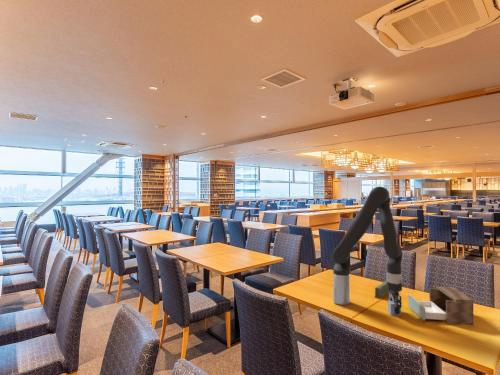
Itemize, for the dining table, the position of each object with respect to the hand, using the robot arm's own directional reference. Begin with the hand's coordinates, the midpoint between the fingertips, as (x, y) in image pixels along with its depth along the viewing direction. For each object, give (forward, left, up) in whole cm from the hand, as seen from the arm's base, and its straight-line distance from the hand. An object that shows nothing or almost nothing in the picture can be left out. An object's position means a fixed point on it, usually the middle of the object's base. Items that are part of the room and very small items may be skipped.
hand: (394, 310), depth 158 cm
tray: (+16, 0, 0) cm, 16 cm away
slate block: (0, 0, -2) cm, 2 cm away
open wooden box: (+28, 0, -1) cm, 28 cm away
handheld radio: (+4, +32, -2) cm, 32 cm away
